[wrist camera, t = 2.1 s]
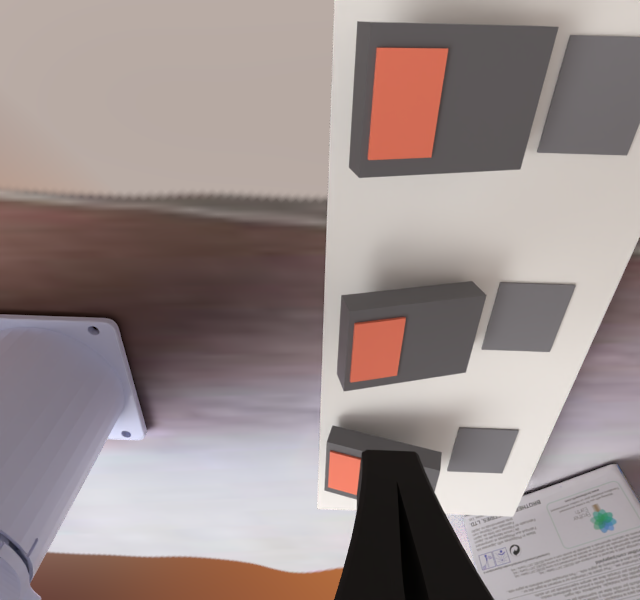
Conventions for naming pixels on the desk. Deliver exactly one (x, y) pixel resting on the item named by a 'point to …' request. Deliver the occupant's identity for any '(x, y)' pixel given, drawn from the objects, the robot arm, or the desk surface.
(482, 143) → the block
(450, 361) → the rocker middle
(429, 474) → the rocker far end
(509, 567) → the ink cartridge box
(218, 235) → the desk surface
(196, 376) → the desk surface
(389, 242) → the power strip
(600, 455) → the desk surface
